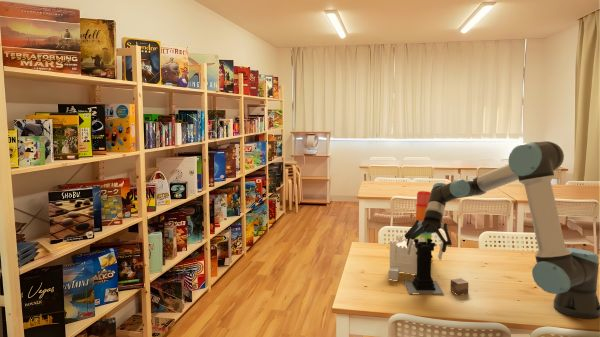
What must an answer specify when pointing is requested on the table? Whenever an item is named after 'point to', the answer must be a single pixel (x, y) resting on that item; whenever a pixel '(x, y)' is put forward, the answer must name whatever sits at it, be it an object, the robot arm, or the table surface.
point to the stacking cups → (422, 211)
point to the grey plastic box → (394, 272)
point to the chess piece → (424, 265)
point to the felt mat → (413, 290)
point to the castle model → (404, 254)
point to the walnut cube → (459, 286)
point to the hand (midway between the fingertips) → (423, 255)
